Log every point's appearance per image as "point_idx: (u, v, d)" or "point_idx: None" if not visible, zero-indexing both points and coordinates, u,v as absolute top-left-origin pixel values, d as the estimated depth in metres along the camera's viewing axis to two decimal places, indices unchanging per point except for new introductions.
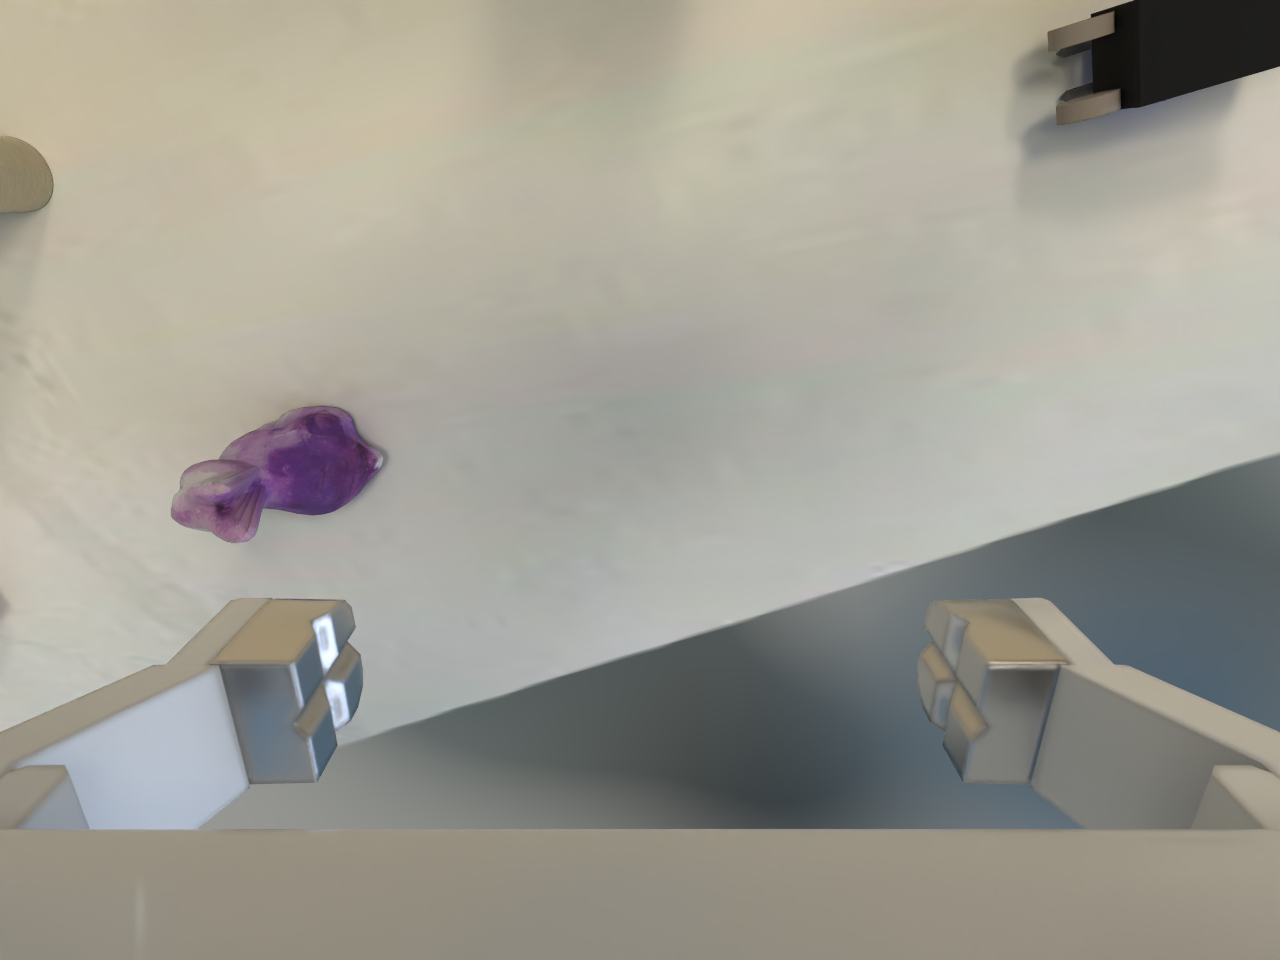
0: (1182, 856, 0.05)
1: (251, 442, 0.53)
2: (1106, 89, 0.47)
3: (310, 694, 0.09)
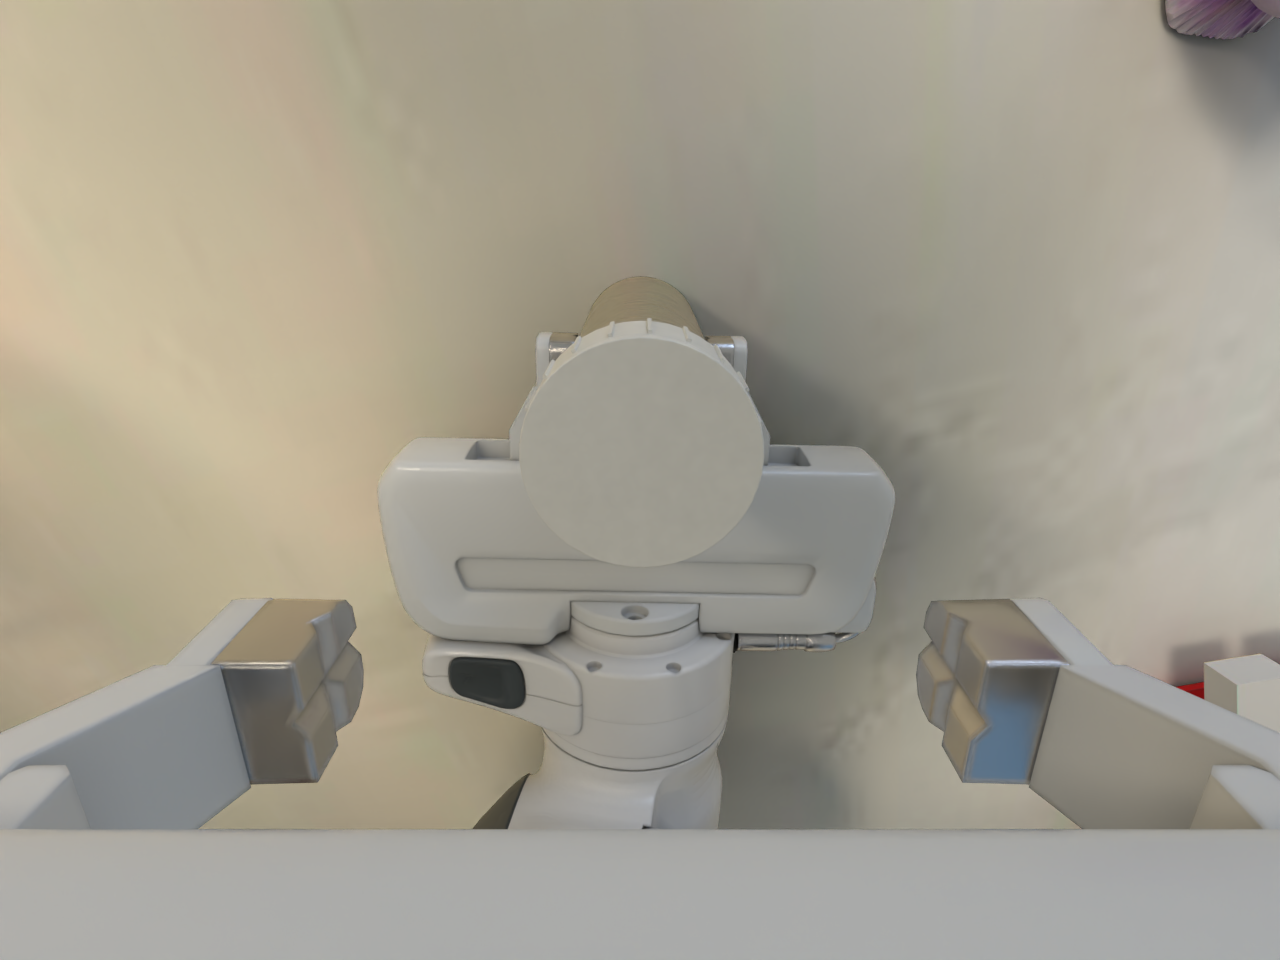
0: (1182, 856, 0.05)
1: None
2: None
3: (311, 694, 0.09)
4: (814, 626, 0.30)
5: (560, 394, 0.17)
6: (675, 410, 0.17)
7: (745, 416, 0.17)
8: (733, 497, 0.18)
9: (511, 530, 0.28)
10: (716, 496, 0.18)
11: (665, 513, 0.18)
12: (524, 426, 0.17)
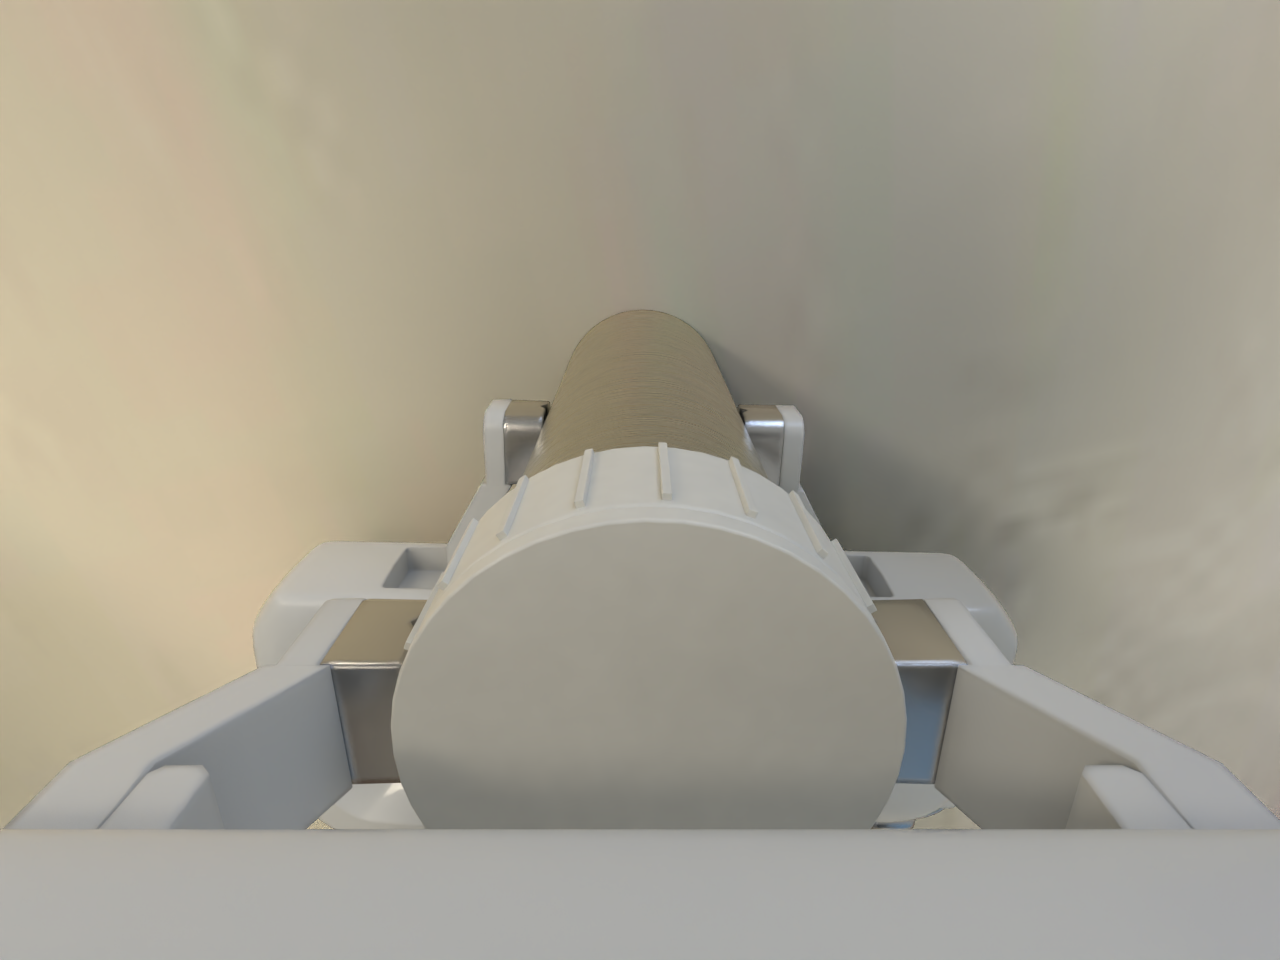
0: (1182, 856, 0.05)
1: None
2: None
3: None
4: (891, 814, 0.21)
5: (472, 633, 0.08)
6: (720, 662, 0.08)
7: (872, 674, 0.08)
8: (836, 817, 0.09)
9: None
10: (801, 815, 0.09)
11: None
12: (398, 692, 0.08)
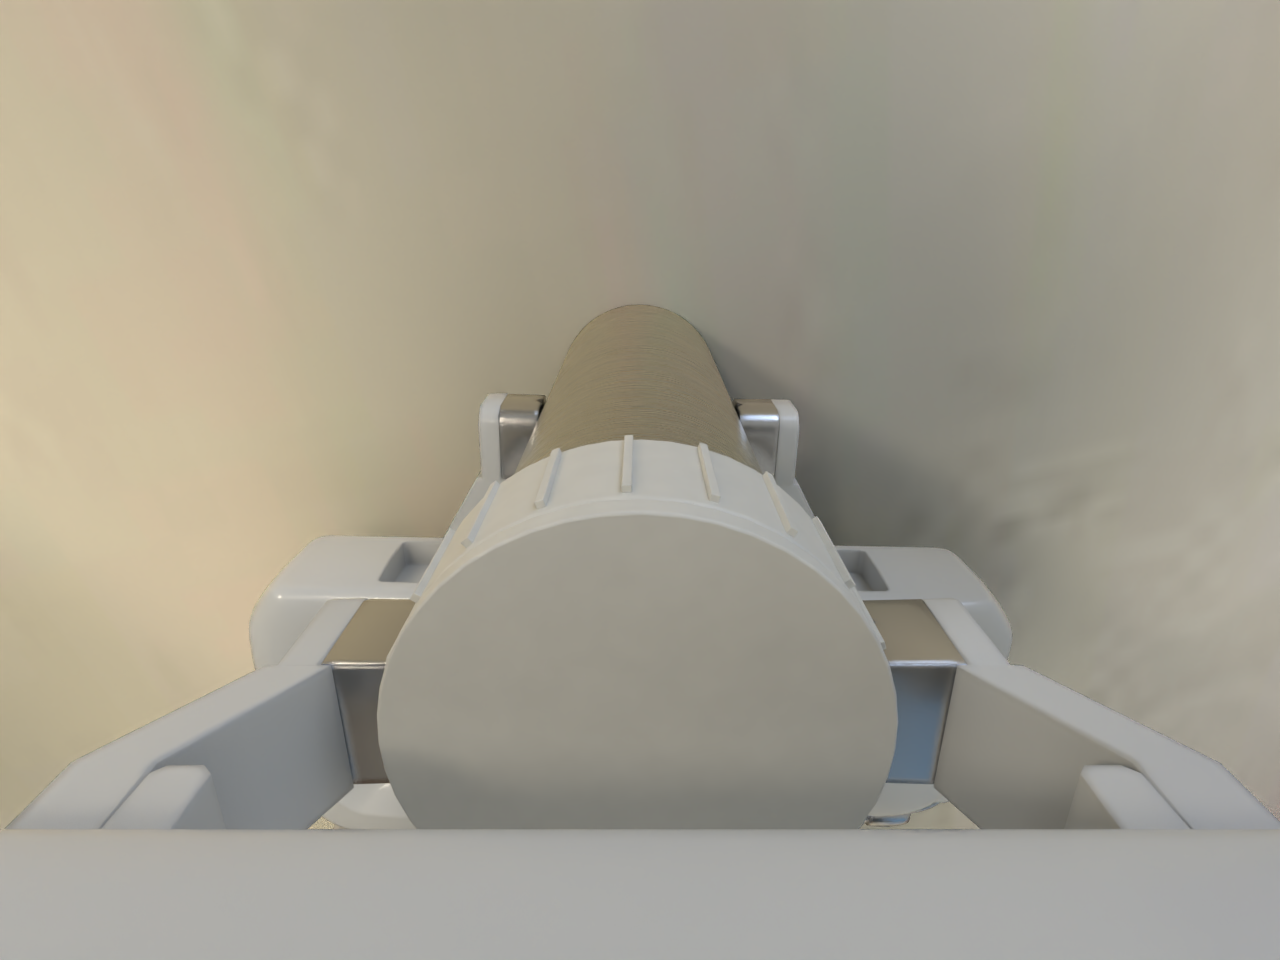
0: (1182, 856, 0.05)
1: None
2: None
3: None
4: (886, 808, 0.21)
5: None
6: (518, 701, 0.08)
7: (506, 569, 0.07)
8: (710, 566, 0.07)
9: None
10: (711, 601, 0.07)
11: (760, 695, 0.08)
12: None
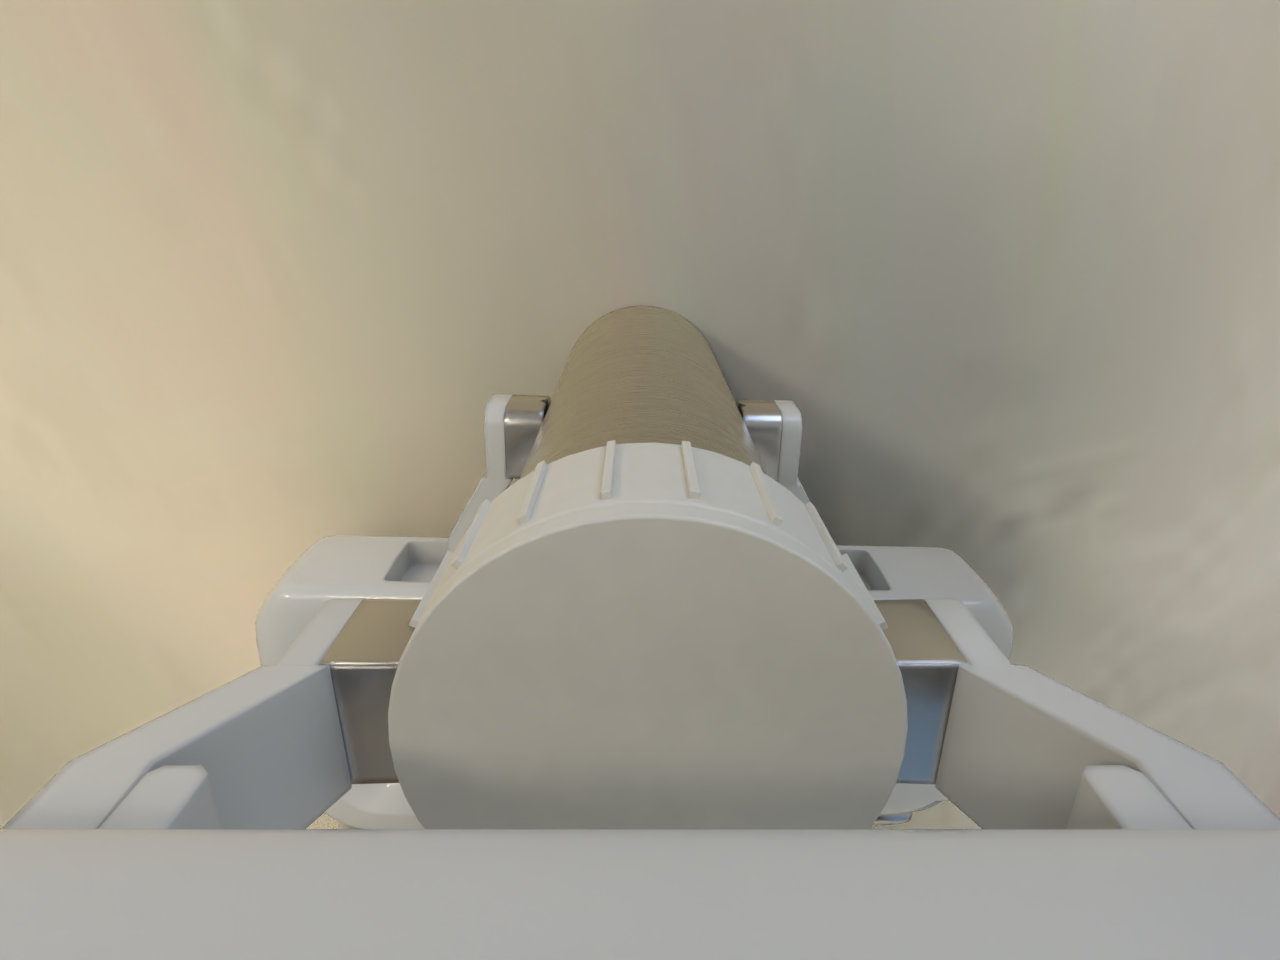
0: (1182, 856, 0.05)
1: None
2: None
3: None
4: (888, 806, 0.21)
5: (829, 828, 0.09)
6: None
7: None
8: (431, 717, 0.08)
9: None
10: (468, 711, 0.08)
11: (566, 658, 0.08)
12: (897, 764, 0.08)
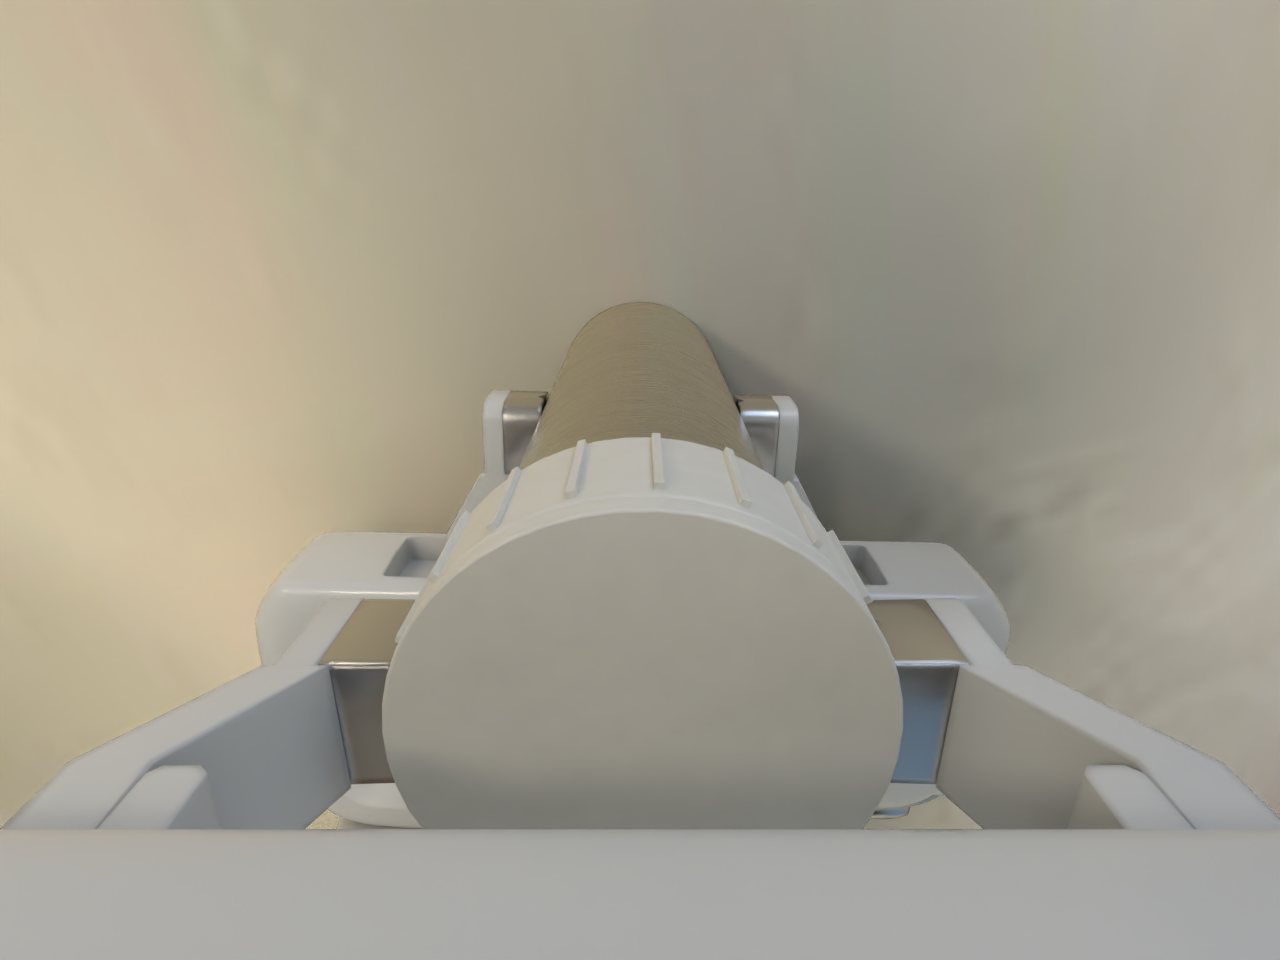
0: (1182, 856, 0.05)
1: None
2: None
3: None
4: (885, 800, 0.21)
5: (735, 567, 0.07)
6: (765, 770, 0.08)
7: None
8: None
9: None
10: None
11: (545, 812, 0.09)
12: (634, 512, 0.07)
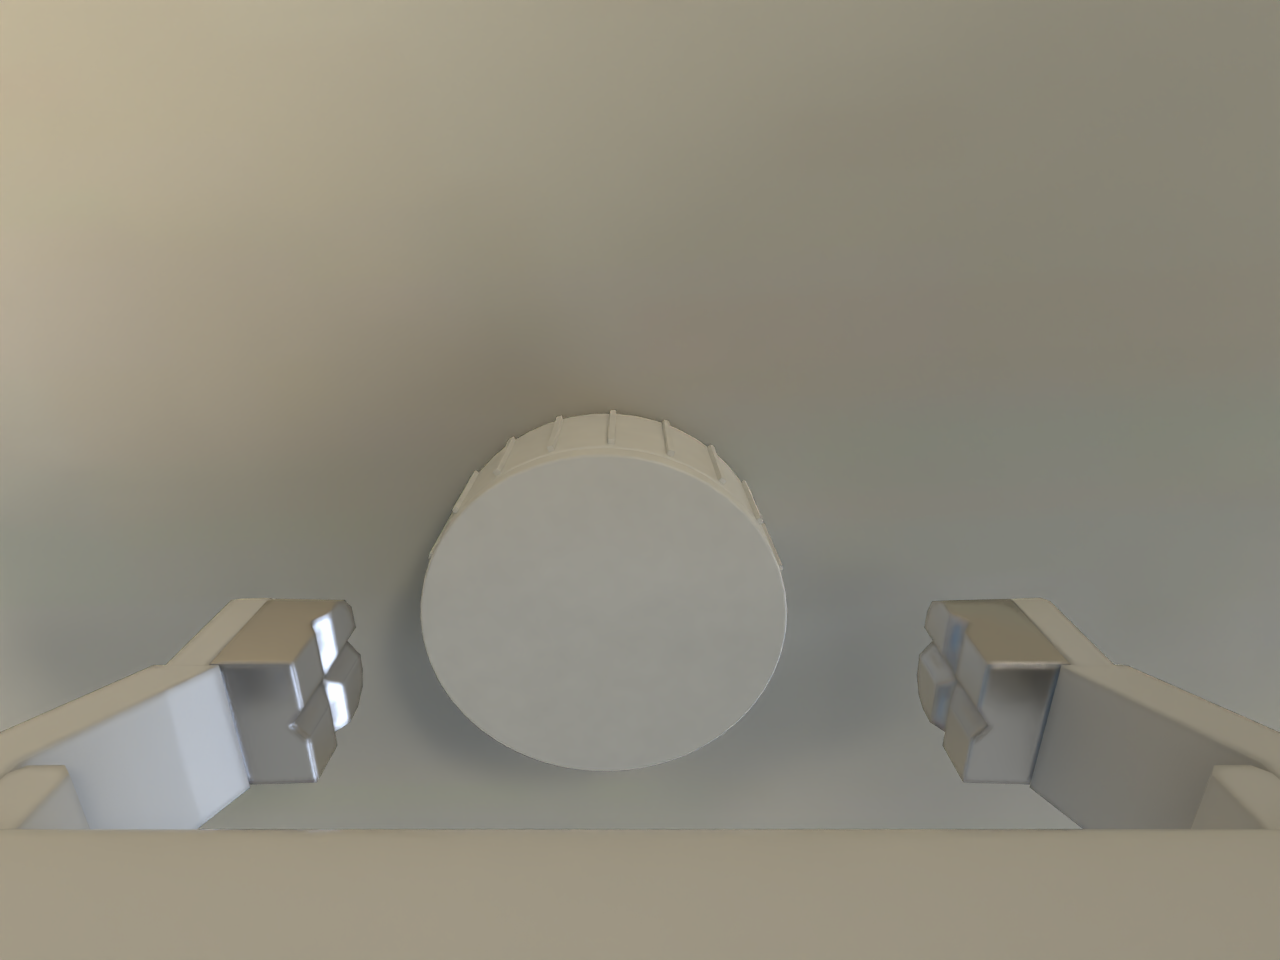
0: (1182, 856, 0.05)
1: None
2: None
3: (310, 694, 0.09)
4: None
5: (663, 494, 0.11)
6: (692, 645, 0.12)
7: (713, 725, 0.12)
8: (595, 750, 0.12)
9: None
10: (588, 730, 0.12)
11: (536, 681, 0.12)
12: (593, 457, 0.11)
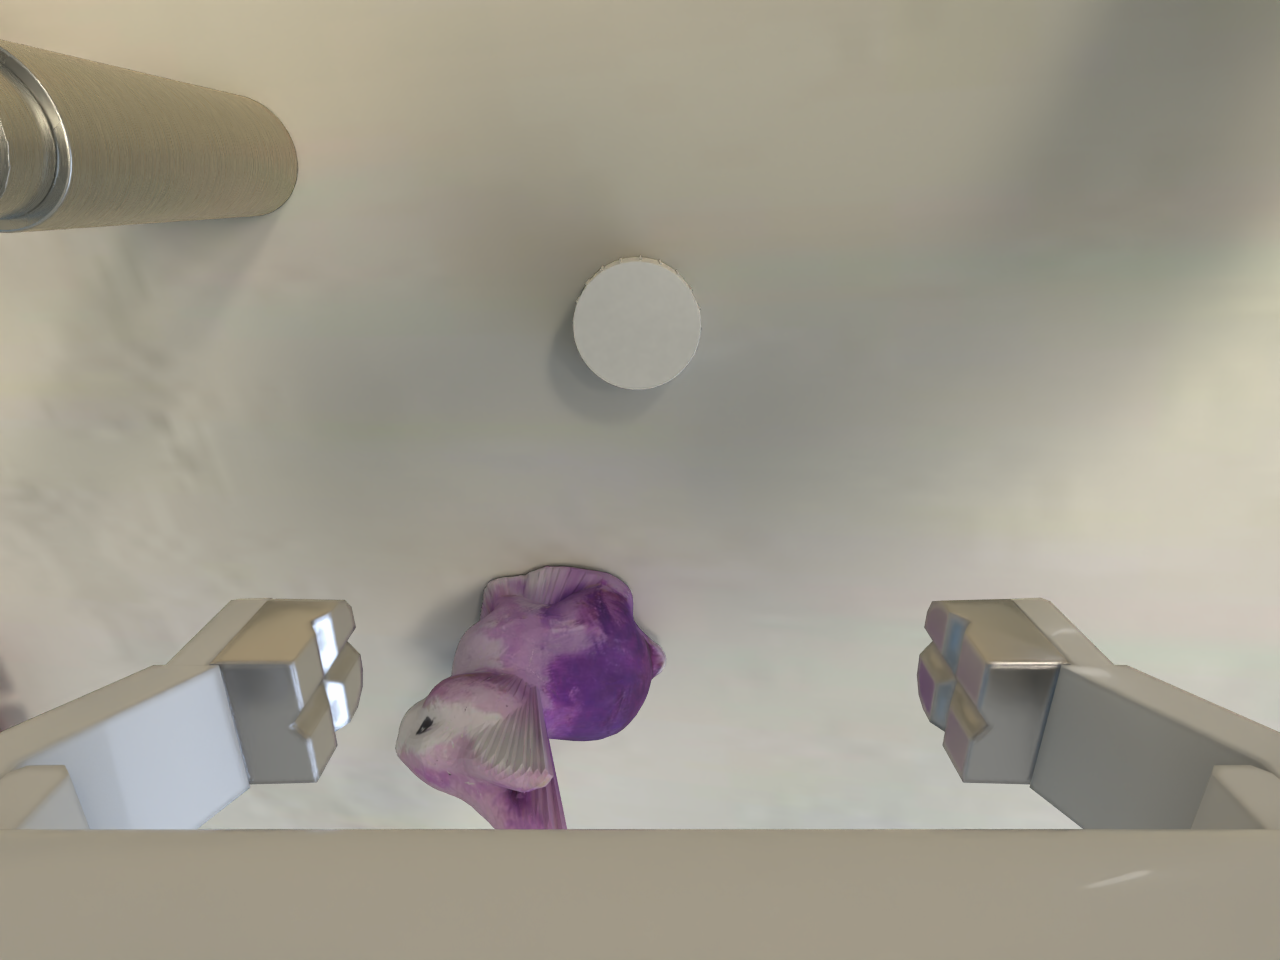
0: (1182, 856, 0.05)
1: (520, 637, 0.35)
2: None
3: (310, 694, 0.09)
4: None
5: (657, 276, 0.32)
6: (667, 335, 0.33)
7: (675, 369, 0.34)
8: (632, 379, 0.34)
9: None
10: (630, 371, 0.34)
11: (612, 349, 0.33)
12: (634, 262, 0.32)
